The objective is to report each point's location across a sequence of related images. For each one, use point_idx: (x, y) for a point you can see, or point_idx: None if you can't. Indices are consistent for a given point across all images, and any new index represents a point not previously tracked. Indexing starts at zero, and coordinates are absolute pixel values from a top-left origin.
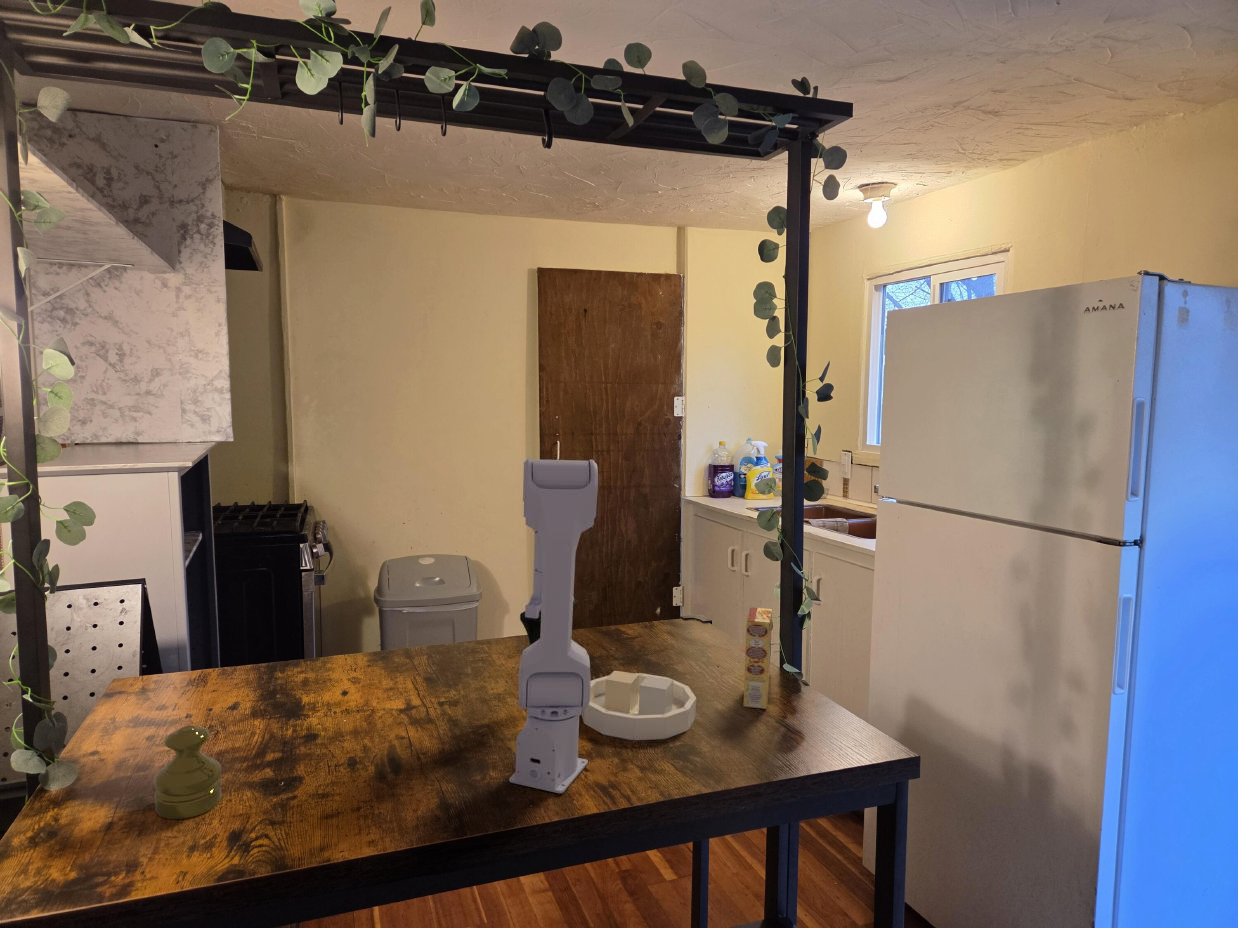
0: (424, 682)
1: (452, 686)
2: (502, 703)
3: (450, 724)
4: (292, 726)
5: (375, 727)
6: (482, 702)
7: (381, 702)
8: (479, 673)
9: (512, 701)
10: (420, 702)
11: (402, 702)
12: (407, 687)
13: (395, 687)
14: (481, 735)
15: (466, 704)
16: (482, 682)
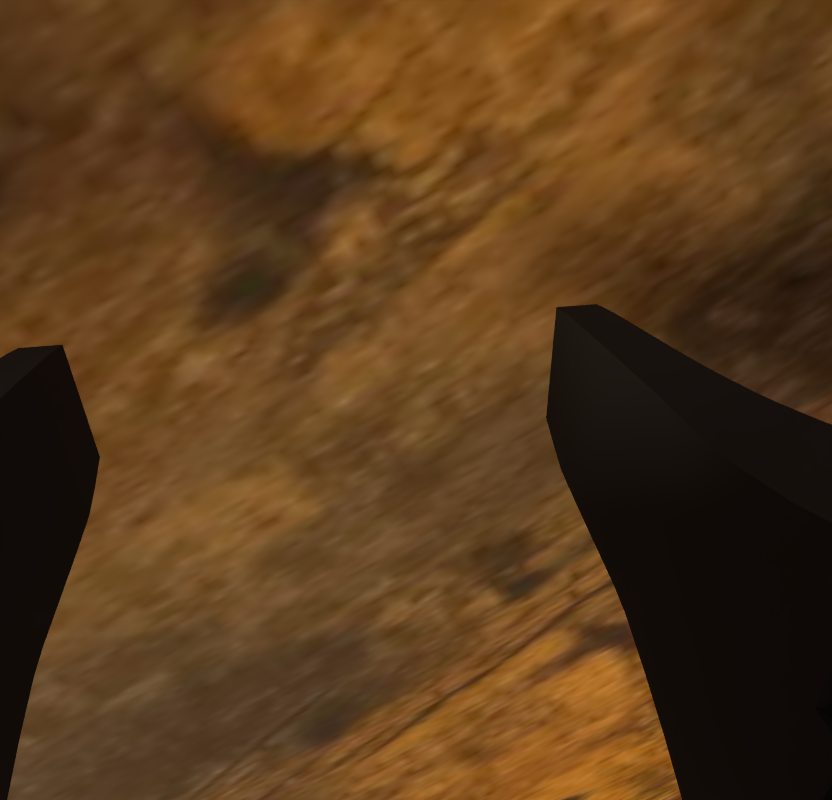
0: (363, 722)
1: (343, 643)
2: (408, 398)
3: None
4: None
5: None
6: (441, 474)
7: (592, 713)
8: (144, 646)
9: (360, 371)
10: (544, 638)
11: (567, 675)
12: (436, 731)
13: (455, 752)
14: (798, 289)
15: (492, 513)
16: (229, 587)
